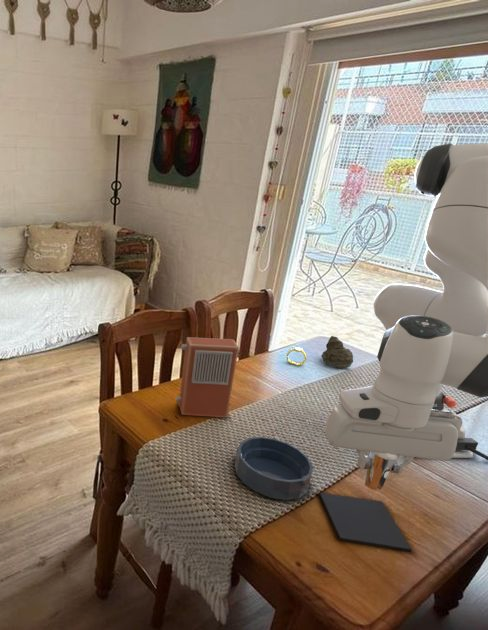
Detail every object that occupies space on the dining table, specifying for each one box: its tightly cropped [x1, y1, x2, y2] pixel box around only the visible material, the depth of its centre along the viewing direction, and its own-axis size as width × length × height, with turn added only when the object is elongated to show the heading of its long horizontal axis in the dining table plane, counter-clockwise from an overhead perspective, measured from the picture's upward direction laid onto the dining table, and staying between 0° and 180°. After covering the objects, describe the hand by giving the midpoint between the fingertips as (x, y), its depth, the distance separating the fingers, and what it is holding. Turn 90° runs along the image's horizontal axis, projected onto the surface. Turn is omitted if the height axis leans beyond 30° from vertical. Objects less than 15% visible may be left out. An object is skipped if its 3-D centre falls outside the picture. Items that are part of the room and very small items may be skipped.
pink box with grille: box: [175, 336, 240, 419], centre depth 120 cm, size 21×7×15 cm
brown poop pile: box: [321, 335, 354, 369], centre depth 151 cm, size 11×12×10 cm
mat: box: [318, 492, 412, 552], centre depth 87 cm, size 12×12×1 cm
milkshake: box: [362, 451, 399, 491], centre depth 82 cm, size 5×5×10 cm
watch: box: [286, 346, 307, 367], centre depth 151 cm, size 6×3×6 cm, turn 60°
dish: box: [234, 436, 314, 501], centre depth 98 cm, size 15×15×5 cm
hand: (378, 469), depth 83 cm, fingers closed on milkshake, 4 cm apart
